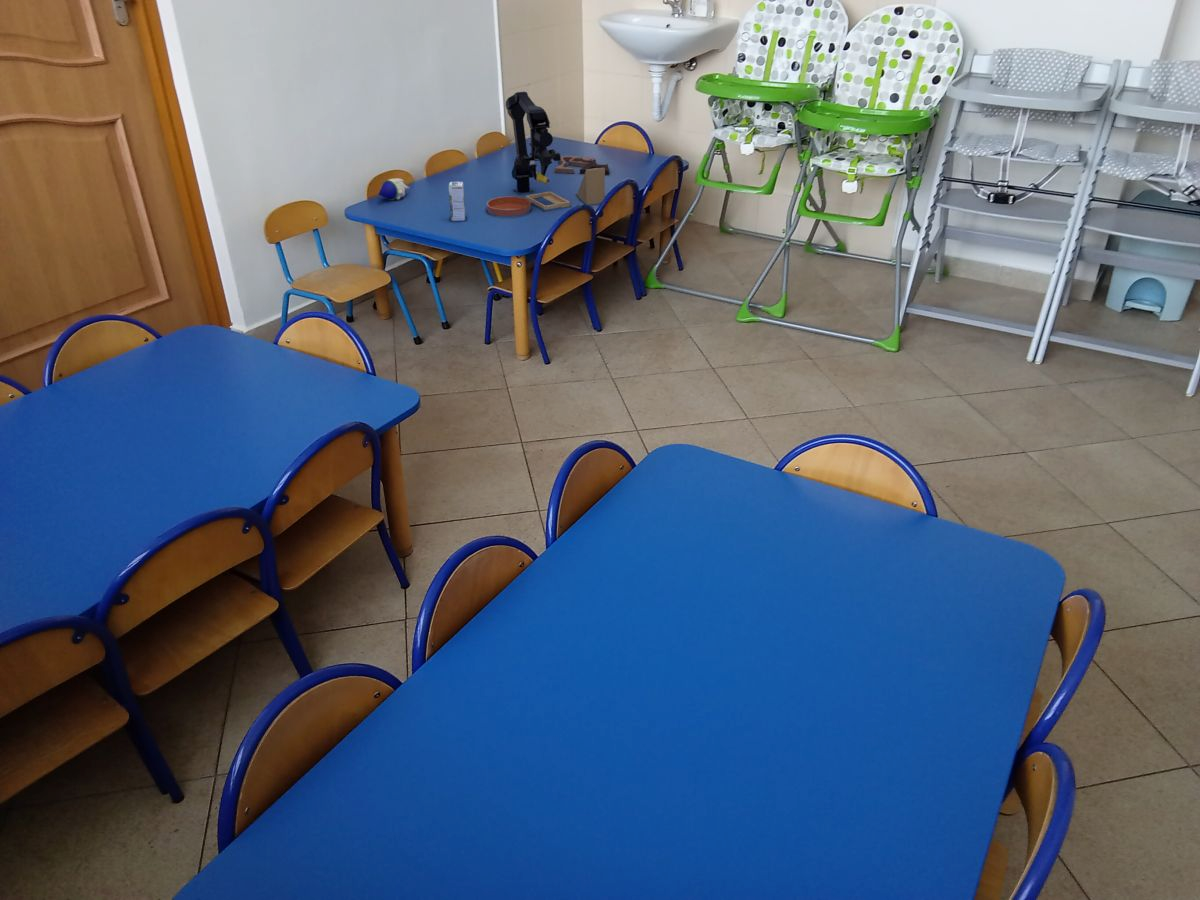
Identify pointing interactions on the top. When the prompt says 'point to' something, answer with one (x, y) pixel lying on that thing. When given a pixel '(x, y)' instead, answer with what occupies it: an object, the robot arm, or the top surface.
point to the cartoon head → (393, 189)
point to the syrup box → (457, 201)
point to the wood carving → (579, 164)
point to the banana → (541, 178)
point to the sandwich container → (592, 186)
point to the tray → (551, 197)
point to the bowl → (508, 206)
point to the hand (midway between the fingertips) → (539, 179)
